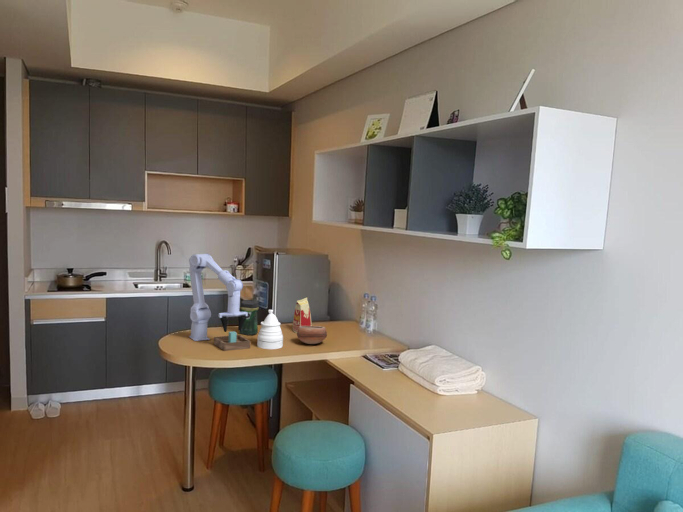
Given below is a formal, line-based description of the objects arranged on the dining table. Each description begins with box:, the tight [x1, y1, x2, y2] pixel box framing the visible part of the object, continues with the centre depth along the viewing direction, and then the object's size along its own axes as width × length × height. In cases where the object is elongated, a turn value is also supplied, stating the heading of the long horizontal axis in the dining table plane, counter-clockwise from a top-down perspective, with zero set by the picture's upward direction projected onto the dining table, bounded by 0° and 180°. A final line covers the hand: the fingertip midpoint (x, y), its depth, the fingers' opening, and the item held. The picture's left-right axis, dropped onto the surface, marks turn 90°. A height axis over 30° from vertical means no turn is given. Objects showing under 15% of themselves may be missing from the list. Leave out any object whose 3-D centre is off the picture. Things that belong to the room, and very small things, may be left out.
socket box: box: [213, 334, 251, 352], centre depth 262 cm, size 14×14×4 cm
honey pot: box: [256, 309, 284, 350], centre depth 267 cm, size 13×13×18 cm
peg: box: [227, 331, 238, 343], centre depth 262 cm, size 3×3×7 cm
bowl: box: [296, 325, 328, 345], centre depth 276 cm, size 16×16×10 cm
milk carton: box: [292, 297, 313, 334], centre depth 301 cm, size 9×9×20 cm
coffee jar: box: [238, 299, 260, 336], centre depth 289 cm, size 10×8×19 cm
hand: (232, 331), depth 262 cm, fingers open, 7 cm apart
